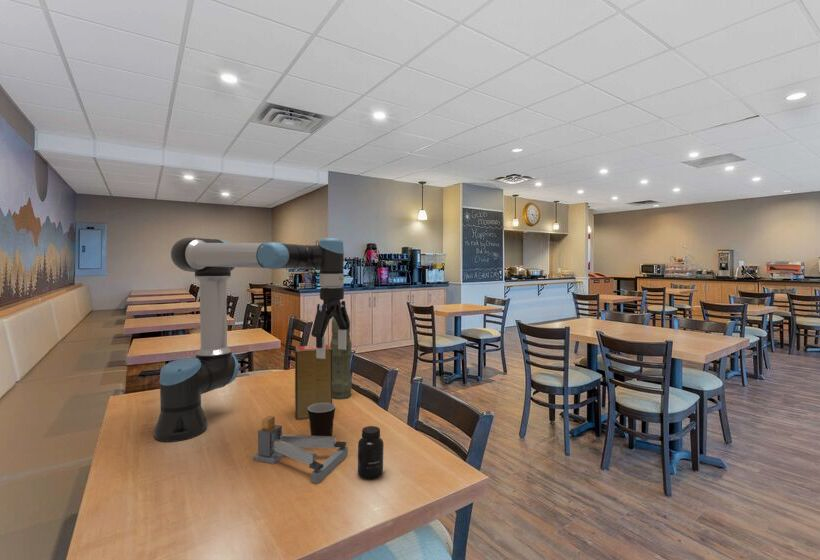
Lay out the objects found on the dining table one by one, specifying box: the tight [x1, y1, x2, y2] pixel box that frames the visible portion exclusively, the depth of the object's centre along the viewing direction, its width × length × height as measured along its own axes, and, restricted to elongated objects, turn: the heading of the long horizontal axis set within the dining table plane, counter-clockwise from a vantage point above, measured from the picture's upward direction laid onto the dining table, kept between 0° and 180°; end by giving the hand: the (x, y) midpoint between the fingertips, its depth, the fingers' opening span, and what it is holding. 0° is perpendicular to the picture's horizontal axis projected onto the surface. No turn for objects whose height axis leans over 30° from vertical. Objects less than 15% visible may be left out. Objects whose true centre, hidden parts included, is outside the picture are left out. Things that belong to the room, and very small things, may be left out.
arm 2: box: [280, 433, 348, 450], centre depth 114 cm, size 19×2×3 cm, turn 85°
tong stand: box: [252, 434, 349, 485], centre depth 111 cm, size 24×16×7 cm, turn 71°
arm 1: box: [273, 439, 323, 471], centre depth 106 cm, size 19×2×3 cm, turn 57°
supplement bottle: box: [357, 425, 385, 480], centre depth 105 cm, size 7×7×12 cm
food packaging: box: [294, 344, 333, 420], centre depth 147 cm, size 13×9×25 cm
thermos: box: [329, 315, 352, 400], centre depth 167 cm, size 9×12×35 cm
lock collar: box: [257, 415, 283, 457], centre depth 114 cm, size 4×5×10 cm
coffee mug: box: [308, 403, 336, 436], centre depth 128 cm, size 12×9×10 cm
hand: (332, 353), depth 126 cm, fingers open, 13 cm apart
